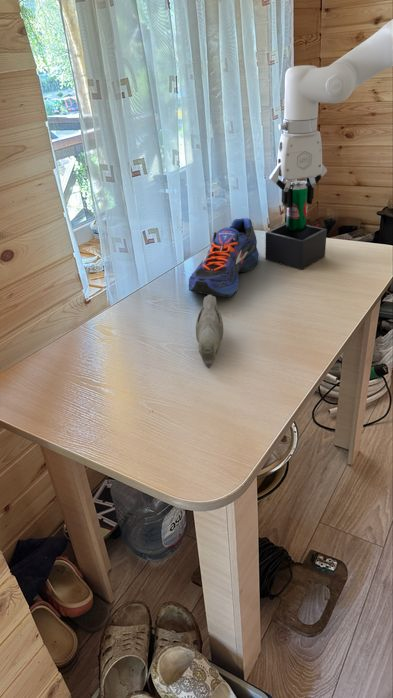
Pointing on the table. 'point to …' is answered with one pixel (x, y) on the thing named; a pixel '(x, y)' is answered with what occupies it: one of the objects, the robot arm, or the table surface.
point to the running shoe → (226, 260)
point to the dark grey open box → (295, 246)
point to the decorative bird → (209, 330)
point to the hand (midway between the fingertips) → (297, 203)
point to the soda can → (297, 207)
